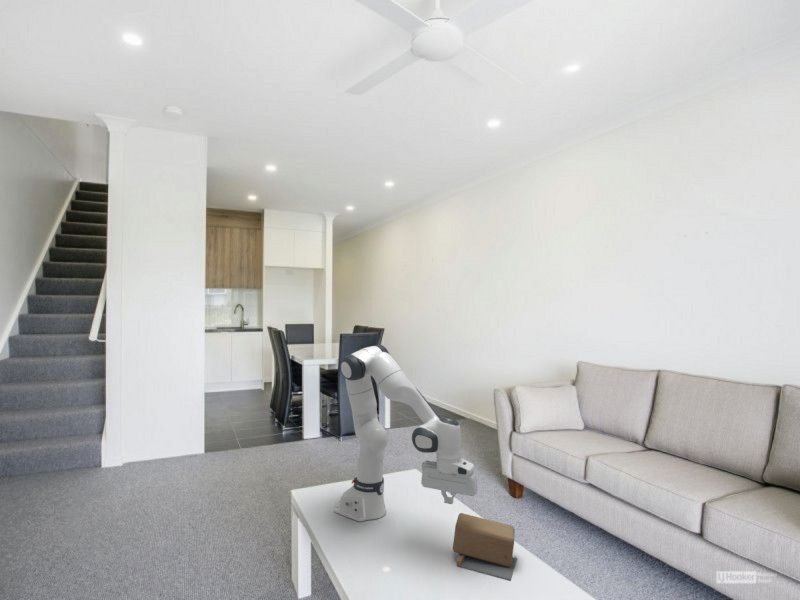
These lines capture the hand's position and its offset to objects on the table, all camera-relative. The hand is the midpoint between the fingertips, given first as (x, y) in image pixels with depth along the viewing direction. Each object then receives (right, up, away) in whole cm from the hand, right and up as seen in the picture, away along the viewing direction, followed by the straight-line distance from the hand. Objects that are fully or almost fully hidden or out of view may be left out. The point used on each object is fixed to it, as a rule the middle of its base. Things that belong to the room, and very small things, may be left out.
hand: (448, 503), depth 153 cm
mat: (+13, -18, -6) cm, 23 cm away
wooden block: (+2, -10, 0) cm, 10 cm away
